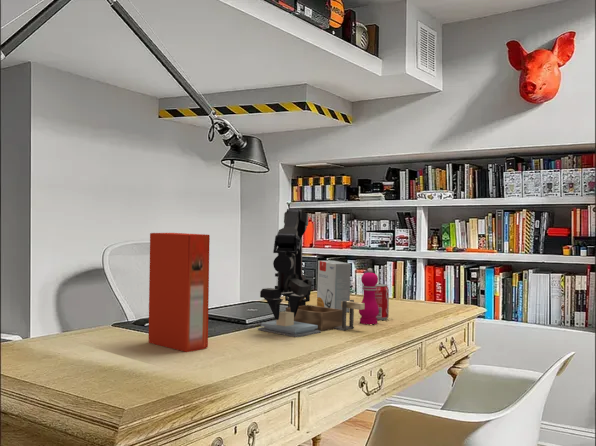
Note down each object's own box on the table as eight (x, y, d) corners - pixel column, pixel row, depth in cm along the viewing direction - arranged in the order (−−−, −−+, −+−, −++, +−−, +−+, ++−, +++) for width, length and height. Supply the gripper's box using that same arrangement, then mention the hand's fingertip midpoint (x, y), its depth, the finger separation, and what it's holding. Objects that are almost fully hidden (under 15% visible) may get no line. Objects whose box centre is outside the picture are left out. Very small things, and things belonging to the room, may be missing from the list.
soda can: (389, 320, 231) (390, 286, 231) (370, 320, 231) (371, 285, 231) (387, 317, 238) (388, 284, 238) (368, 317, 238) (369, 283, 238)
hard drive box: (316, 307, 261) (317, 260, 261) (332, 307, 264) (333, 260, 264) (333, 313, 247) (334, 263, 247) (350, 312, 250) (351, 263, 250)
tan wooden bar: (341, 307, 211) (341, 301, 211) (345, 306, 213) (345, 300, 213) (360, 309, 206) (360, 303, 206) (364, 309, 207) (364, 303, 207)
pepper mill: (372, 325, 219) (373, 269, 219) (354, 323, 223) (356, 267, 223) (382, 323, 225) (383, 268, 225) (365, 320, 229) (366, 266, 229)
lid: (260, 328, 205) (261, 310, 205) (283, 324, 213) (284, 307, 213) (294, 334, 195) (295, 316, 195) (317, 330, 203) (318, 313, 203)
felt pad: (257, 329, 205) (257, 328, 205) (282, 325, 214) (282, 324, 214) (296, 337, 194) (296, 335, 194) (320, 332, 203) (320, 330, 203)
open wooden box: (285, 325, 216) (286, 296, 216) (309, 321, 226) (310, 294, 226) (330, 333, 203) (331, 303, 203) (354, 328, 212) (354, 299, 212)
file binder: (184, 352, 168) (187, 234, 168) (147, 342, 180) (150, 232, 180) (207, 348, 174) (210, 234, 174) (170, 339, 186) (172, 232, 186)
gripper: (285, 273, 190) (284, 324, 190) (323, 271, 204) (322, 318, 204) (259, 271, 197) (258, 320, 197) (298, 268, 211) (297, 314, 211)
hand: (285, 318), depth 202 cm, fingers open, 8 cm apart
